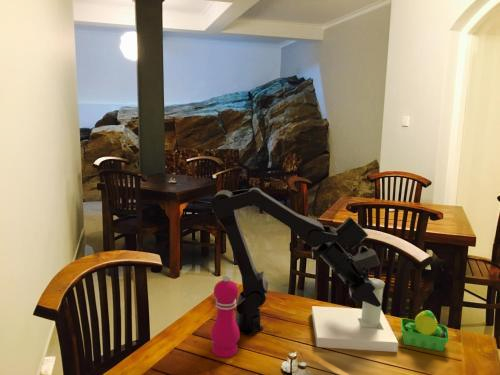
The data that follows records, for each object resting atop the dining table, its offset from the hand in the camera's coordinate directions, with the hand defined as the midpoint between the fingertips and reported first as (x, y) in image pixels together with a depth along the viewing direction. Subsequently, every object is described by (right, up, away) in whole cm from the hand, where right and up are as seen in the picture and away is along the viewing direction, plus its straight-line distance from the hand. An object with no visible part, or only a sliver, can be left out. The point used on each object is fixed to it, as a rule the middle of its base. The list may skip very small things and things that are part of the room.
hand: (377, 301), depth 115 cm
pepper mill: (-40, -11, -8) cm, 42 cm away
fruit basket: (+11, -11, -3) cm, 16 cm away
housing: (-7, -10, +2) cm, 12 cm away
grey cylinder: (-2, -5, +1) cm, 6 cm away
